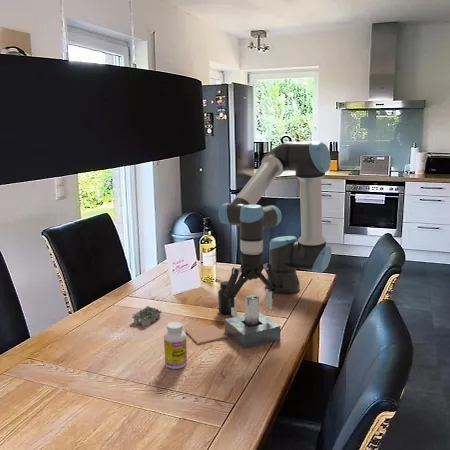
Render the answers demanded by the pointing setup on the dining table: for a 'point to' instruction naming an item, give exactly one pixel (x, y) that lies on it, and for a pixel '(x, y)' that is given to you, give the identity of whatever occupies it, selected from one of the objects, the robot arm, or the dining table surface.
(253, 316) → the steel plug
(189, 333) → the rubber pad
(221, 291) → the supplement bottle
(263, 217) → the robot arm
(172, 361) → the supplement bottle
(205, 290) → the dining table surface
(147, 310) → the grey lumpy block
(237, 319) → the bored block
